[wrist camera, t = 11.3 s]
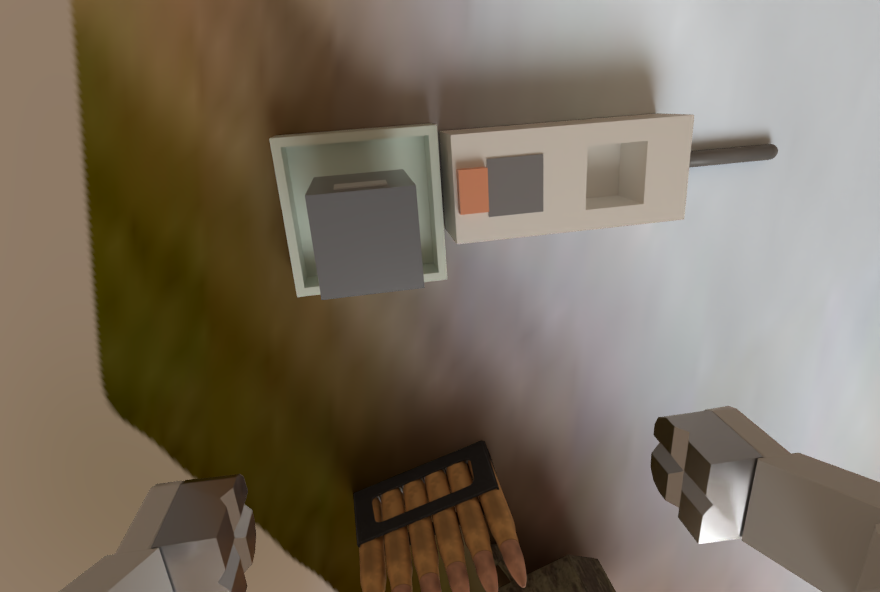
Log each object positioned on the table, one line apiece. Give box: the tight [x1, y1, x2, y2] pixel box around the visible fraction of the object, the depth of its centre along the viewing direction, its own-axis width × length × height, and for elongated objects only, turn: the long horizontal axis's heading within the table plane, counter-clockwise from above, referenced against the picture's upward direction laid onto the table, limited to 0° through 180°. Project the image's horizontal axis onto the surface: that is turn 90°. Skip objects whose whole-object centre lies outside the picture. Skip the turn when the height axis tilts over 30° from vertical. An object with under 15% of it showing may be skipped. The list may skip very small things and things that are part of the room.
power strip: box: [439, 113, 778, 244], centre depth 32 cm, size 22×6×5 cm, turn 94°
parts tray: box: [269, 123, 447, 297], centre depth 31 cm, size 9×9×3 cm
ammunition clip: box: [353, 441, 527, 592], centre depth 35 cm, size 11×2×12 cm, turn 110°
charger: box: [305, 169, 425, 300], centre depth 28 cm, size 5×5×9 cm
